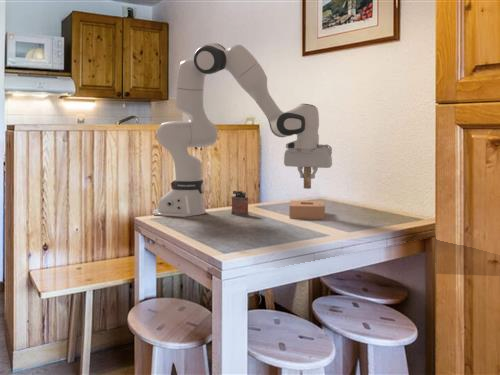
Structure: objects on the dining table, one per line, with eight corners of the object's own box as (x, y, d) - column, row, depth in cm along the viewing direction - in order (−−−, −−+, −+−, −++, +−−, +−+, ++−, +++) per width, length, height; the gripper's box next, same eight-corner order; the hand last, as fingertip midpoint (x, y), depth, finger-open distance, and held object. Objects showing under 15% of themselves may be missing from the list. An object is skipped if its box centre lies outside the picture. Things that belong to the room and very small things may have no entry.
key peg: (302, 188, 182) (302, 166, 181) (304, 187, 185) (305, 166, 184) (309, 188, 181) (309, 166, 180) (311, 188, 184) (312, 166, 183)
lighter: (250, 214, 187) (250, 191, 185) (245, 216, 184) (245, 192, 183) (234, 212, 191) (234, 189, 190) (229, 214, 188) (229, 190, 187)
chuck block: (289, 218, 179) (289, 205, 178) (290, 211, 193) (290, 200, 192) (324, 218, 177) (324, 206, 177) (323, 212, 191) (323, 201, 190)
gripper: (334, 144, 178) (334, 178, 180) (289, 144, 189) (289, 176, 191) (328, 144, 173) (328, 180, 175) (282, 144, 184) (282, 177, 185)
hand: (307, 178), depth 183 cm, fingers closed on key peg, 3 cm apart
